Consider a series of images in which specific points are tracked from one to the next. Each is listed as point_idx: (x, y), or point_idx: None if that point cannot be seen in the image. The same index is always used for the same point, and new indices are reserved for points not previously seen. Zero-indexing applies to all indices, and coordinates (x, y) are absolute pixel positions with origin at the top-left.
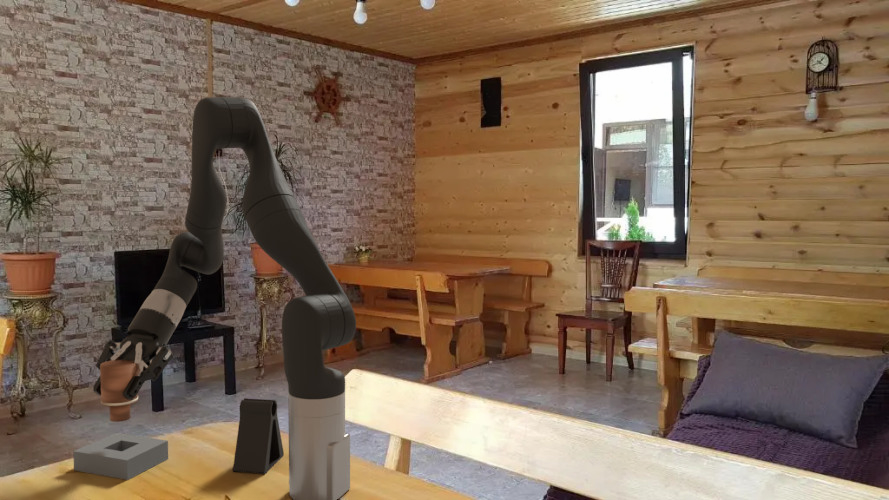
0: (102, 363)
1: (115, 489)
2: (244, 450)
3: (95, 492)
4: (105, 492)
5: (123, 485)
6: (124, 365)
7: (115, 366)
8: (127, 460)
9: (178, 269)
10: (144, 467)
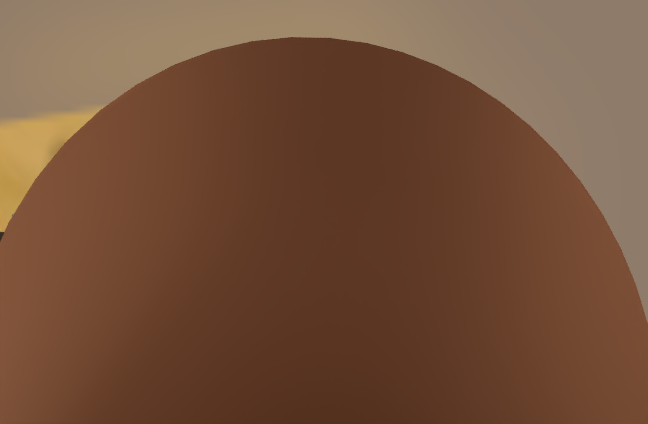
0: (607, 249)
1: (23, 148)
2: None
3: (92, 110)
4: (48, 116)
5: (13, 189)
6: (139, 249)
7: (260, 135)
8: (12, 216)
9: None
10: None
